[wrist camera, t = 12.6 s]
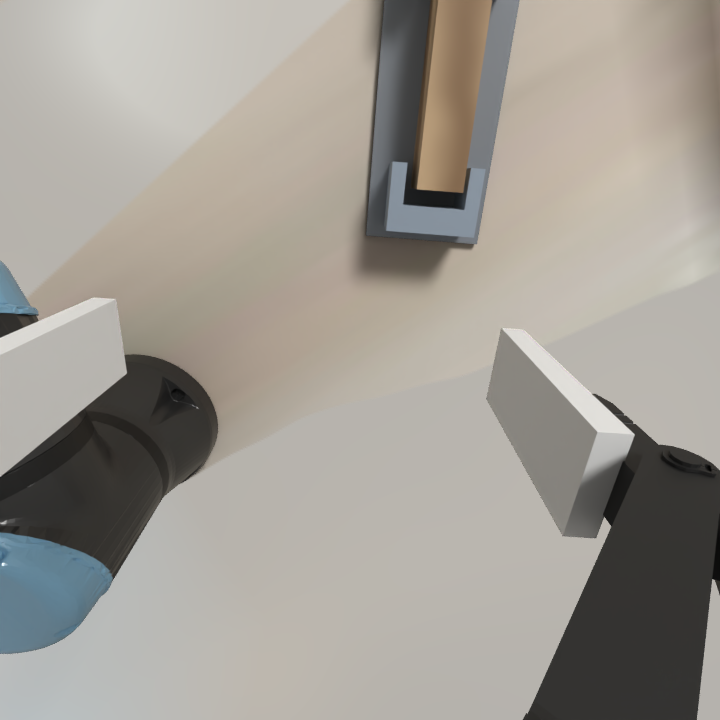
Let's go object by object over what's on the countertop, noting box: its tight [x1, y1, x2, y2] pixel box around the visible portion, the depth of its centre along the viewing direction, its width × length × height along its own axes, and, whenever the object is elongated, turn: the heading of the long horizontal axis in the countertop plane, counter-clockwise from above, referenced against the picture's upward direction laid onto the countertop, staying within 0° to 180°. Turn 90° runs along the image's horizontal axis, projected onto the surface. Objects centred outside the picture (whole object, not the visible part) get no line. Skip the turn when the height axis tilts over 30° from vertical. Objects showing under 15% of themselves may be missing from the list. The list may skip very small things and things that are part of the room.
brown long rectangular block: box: [410, 0, 492, 193], centre depth 32 cm, size 4×16×5 cm, turn 176°
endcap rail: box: [366, 0, 519, 244], centre depth 32 cm, size 10×24×5 cm, turn 176°
